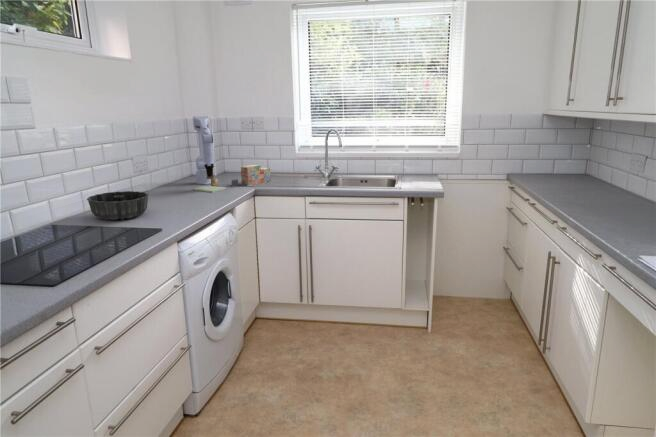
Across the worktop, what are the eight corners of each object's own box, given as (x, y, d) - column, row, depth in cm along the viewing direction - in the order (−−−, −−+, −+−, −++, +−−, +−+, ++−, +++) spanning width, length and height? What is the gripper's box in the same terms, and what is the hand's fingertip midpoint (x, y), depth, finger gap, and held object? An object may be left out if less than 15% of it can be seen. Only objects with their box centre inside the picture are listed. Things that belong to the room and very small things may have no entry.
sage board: (193, 190, 271) (193, 188, 271) (207, 186, 281) (206, 185, 281) (212, 192, 263) (212, 190, 263) (226, 189, 274) (225, 187, 273)
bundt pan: (134, 207, 226) (131, 188, 224) (161, 215, 210) (159, 195, 208) (80, 217, 207) (77, 196, 204) (105, 226, 190) (102, 204, 188)
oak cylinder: (209, 186, 282) (209, 179, 280) (214, 185, 285) (214, 178, 284) (214, 187, 280) (214, 179, 278) (219, 186, 283) (219, 178, 282)
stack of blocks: (263, 180, 307) (263, 162, 303) (270, 181, 303) (269, 163, 300) (241, 184, 290) (240, 166, 287) (248, 185, 286) (247, 167, 283)
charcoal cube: (232, 186, 284) (231, 180, 283) (231, 185, 287) (231, 179, 286) (238, 186, 285) (238, 180, 284) (237, 185, 288) (237, 179, 287)
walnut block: (206, 178, 273) (206, 168, 271) (213, 177, 274) (212, 168, 272) (206, 179, 269) (206, 169, 267) (213, 178, 270) (212, 169, 268)
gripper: (215, 155, 262) (216, 177, 265) (214, 152, 275) (215, 174, 279) (203, 155, 260) (204, 178, 263) (202, 153, 273) (204, 174, 277)
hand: (209, 176), depth 271 cm, fingers closed on walnut block, 4 cm apart
